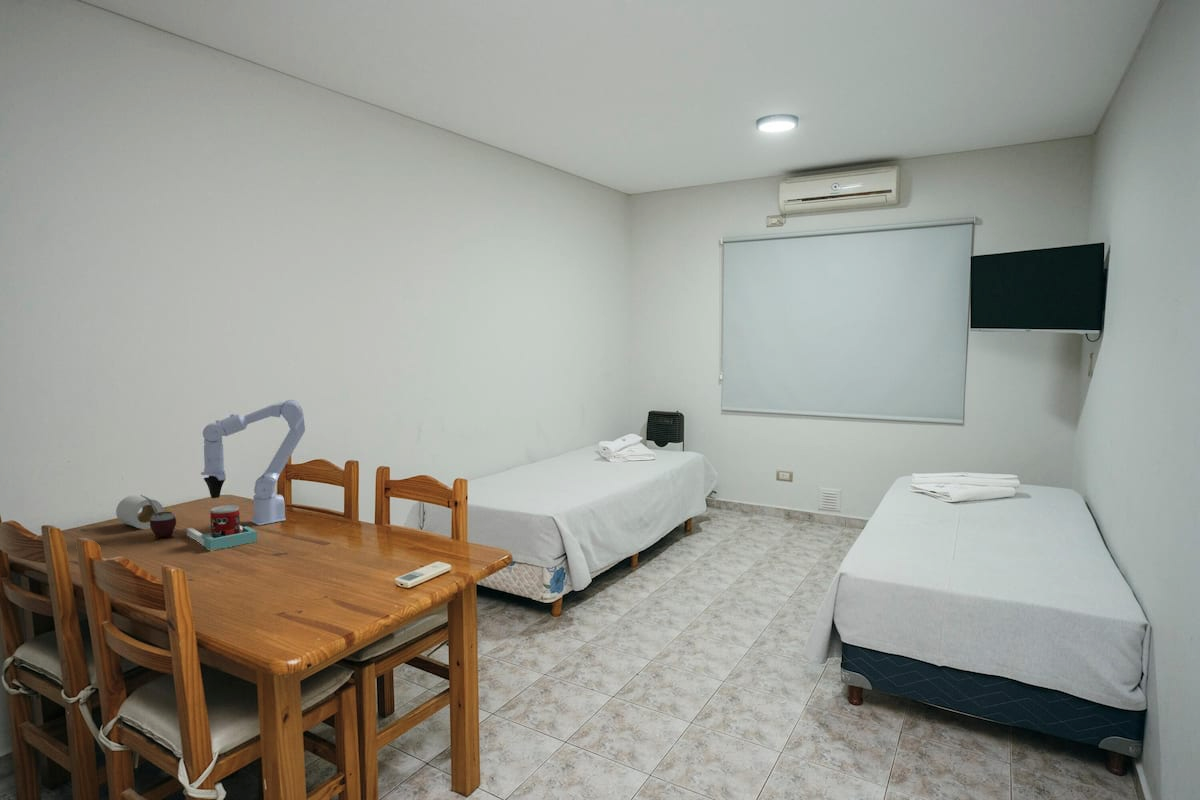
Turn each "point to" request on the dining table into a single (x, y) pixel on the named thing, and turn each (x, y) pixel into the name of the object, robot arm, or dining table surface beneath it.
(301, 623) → the dining table surface
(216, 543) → the teal white rectangular tray
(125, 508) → the toilet paper
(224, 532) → the canned food
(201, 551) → the dining table surface
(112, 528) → the dining table surface
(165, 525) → the mate gourd
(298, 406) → the robot arm
